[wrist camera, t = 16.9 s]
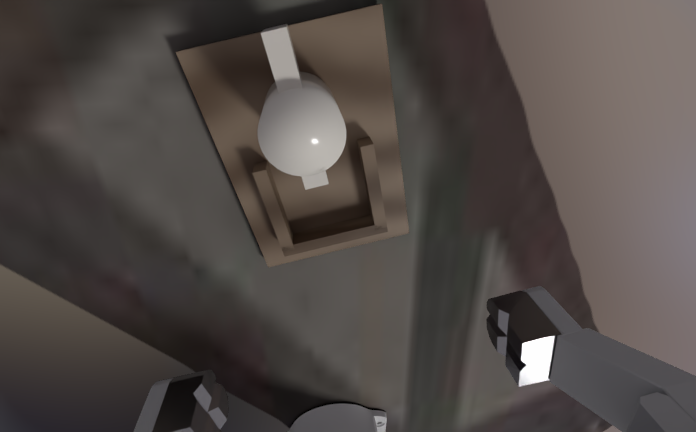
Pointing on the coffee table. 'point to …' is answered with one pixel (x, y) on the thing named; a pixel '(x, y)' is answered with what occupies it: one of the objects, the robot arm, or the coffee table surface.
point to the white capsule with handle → (298, 116)
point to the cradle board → (358, 154)
